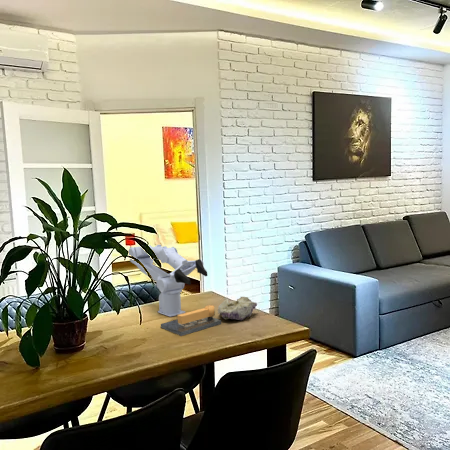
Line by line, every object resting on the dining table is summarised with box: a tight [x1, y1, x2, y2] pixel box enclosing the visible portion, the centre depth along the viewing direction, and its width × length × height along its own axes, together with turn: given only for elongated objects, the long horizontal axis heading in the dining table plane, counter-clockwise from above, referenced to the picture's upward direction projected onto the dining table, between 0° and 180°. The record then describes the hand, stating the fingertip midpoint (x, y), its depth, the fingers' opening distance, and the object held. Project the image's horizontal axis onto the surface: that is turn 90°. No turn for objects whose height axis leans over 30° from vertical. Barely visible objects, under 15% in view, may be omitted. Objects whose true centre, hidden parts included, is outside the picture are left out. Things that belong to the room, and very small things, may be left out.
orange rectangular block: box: [176, 304, 215, 324], centre depth 176 cm, size 16×4×4 cm, turn 131°
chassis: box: [160, 316, 222, 337], centre depth 176 cm, size 13×19×2 cm
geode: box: [217, 296, 258, 322], centre depth 185 cm, size 17×9×15 cm
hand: (198, 278), depth 175 cm, fingers open, 7 cm apart
